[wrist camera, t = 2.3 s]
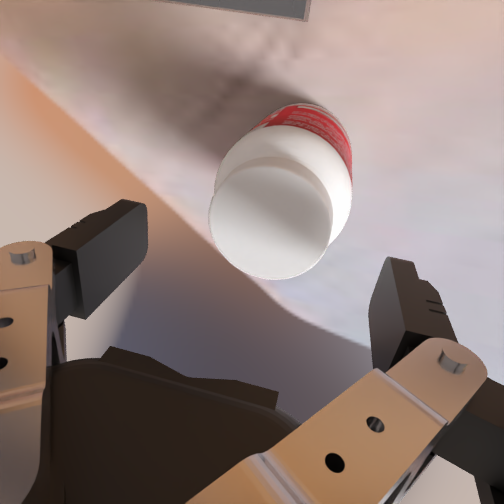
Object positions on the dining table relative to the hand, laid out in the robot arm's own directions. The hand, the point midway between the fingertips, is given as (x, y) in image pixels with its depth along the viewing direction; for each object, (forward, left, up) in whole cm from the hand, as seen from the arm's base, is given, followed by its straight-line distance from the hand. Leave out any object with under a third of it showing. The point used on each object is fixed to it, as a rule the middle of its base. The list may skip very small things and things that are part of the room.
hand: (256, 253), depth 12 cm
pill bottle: (0, 0, -13) cm, 13 cm away
